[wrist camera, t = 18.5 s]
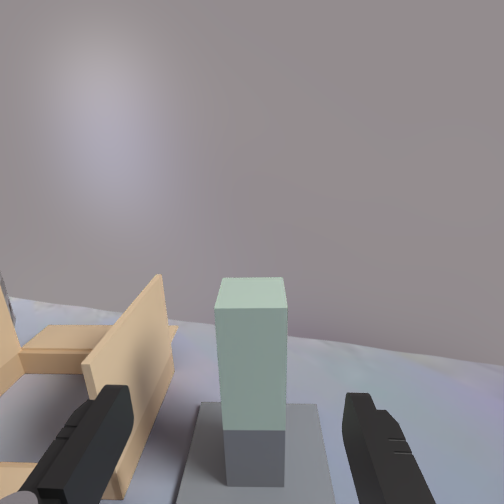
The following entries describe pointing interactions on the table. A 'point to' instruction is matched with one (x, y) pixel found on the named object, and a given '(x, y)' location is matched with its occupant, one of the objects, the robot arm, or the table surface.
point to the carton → (98, 371)
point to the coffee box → (7, 299)
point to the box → (253, 379)
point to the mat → (258, 498)
